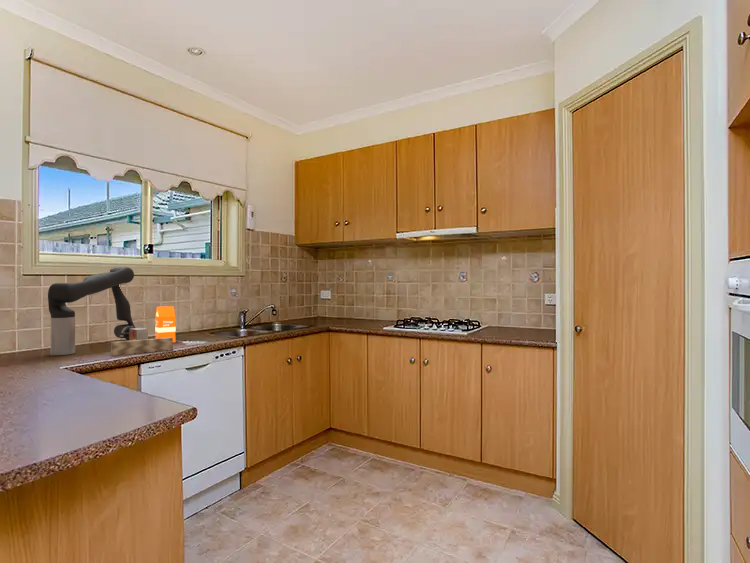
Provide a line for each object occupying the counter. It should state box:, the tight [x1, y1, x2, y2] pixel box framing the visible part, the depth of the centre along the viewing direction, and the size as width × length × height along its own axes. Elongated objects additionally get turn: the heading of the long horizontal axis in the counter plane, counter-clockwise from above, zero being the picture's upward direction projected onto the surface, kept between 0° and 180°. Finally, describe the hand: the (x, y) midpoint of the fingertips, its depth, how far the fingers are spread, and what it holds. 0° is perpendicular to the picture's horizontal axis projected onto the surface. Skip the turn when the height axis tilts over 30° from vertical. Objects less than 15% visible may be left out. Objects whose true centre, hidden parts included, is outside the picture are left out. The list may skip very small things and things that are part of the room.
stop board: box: [110, 337, 174, 357], centre depth 204 cm, size 26×3×6 cm, turn 129°
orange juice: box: [154, 305, 177, 343], centre depth 238 cm, size 8×9×20 cm
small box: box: [129, 327, 149, 341], centre depth 211 cm, size 8×6×10 cm
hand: (137, 336), depth 215 cm, fingers closed
